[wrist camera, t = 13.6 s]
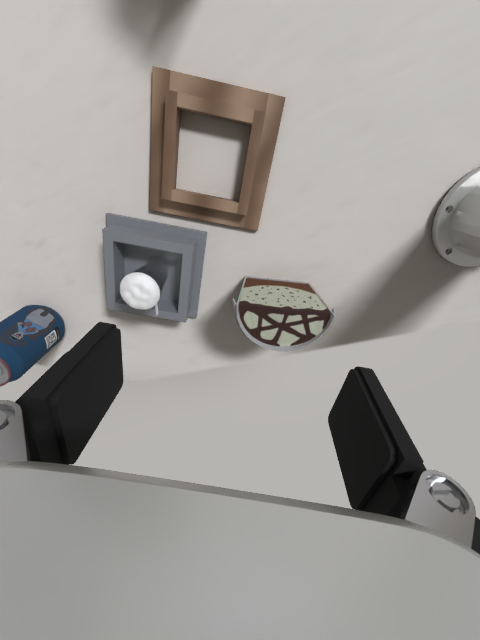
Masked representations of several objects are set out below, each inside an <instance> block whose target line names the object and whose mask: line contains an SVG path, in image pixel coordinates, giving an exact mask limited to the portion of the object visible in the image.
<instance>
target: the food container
mask: <svg viewBox="0 0 480 640" xmlns="http://www.w3.org/2000/svg"><path fill="white" fill-rule="evenodd" d="M233 311H234V314H235V317H236V320H237V323H238V325H239V327H240V329H241V330H242V331H243V333H244V334H245V335H246V336H247V337H248V338H249V339H250V340H251V341H253V342H254V343H256V344H257V345H259V346H261V347H263V348H266V349H269V350H274V351H293V350H297V349H301V348H303V347H306V346H308V345H310V344H312V343H314V342H315V341H316V340H318V339H319V338H320V337H321V336H322V335H324V334H325V332H326V331H327V330H328V329H329V327H330V325H331V324H332V322H333V320H334V317H335V314H336V313H335V308H333V310H332V311H331V310H330V308H329V307H328V306H327V305H326V303H325V302H324V301H323V299H322V298H321V297H320V296H319V294H318V293H317V292H316V291H315V289H314V288H313V287H312V286H311V284H310V283H308V282H298V281H289V280H279V279H269V278H259V277H250V276H245V278H244V281H243V285H242V288H241V291H240V294H239V298H238V301H237V303H236V302H235V300H234V298H233Z"/></svg>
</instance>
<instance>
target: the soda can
mask: <svg viewBox="0 0 480 640" xmlns="http://www.w3.org/2000/svg"><path fill="white" fill-rule="evenodd" d="M63 335H64V321H63V319H62V317H61V316H60V315H59V314H58V313H57V312H56V311H55V310H53V309H52V308H49V307H47V306H41V305H29V306H25V307H23V308H22V309H20V310H19V311H17V312H15V313H14V314H12V315H11V316H9V317H8V318H6V319H4V320H3V321H1V322H0V386H3V385H5V384H6V383H8V382H11V381H14V380H17V379H18V378H20V377H21V376H22V375H23V374H25V372H26V371H28V370H29V369H30V368H31V367H32V366H33V365H34V364H35V363H36V362H37V361H38V360H40V359H41V358H42V357H43V356H44V355H45V354H46V353H47V352H48V351H49V350H50V349H51V348H52V347H53V346H55V345H56V344H57V343H58V342H59V341H60V340H61V339H62V337H63Z"/></svg>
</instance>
